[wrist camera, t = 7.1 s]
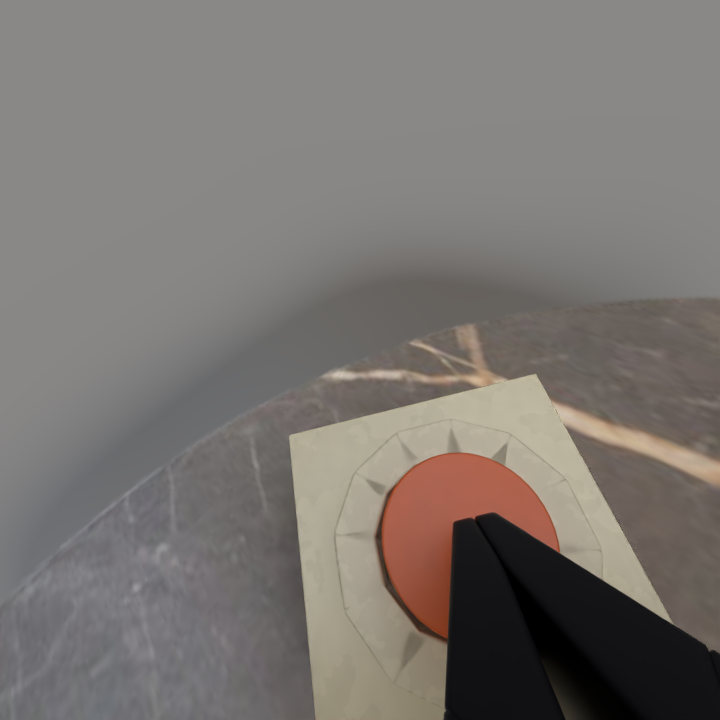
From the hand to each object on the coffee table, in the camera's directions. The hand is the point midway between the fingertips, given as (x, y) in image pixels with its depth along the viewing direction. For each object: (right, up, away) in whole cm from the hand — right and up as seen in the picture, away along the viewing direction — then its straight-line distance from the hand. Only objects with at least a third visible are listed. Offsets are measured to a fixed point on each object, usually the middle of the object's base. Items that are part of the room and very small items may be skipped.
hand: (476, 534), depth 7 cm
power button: (0, -2, +3) cm, 3 cm away
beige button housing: (+1, -5, +8) cm, 10 cm away
